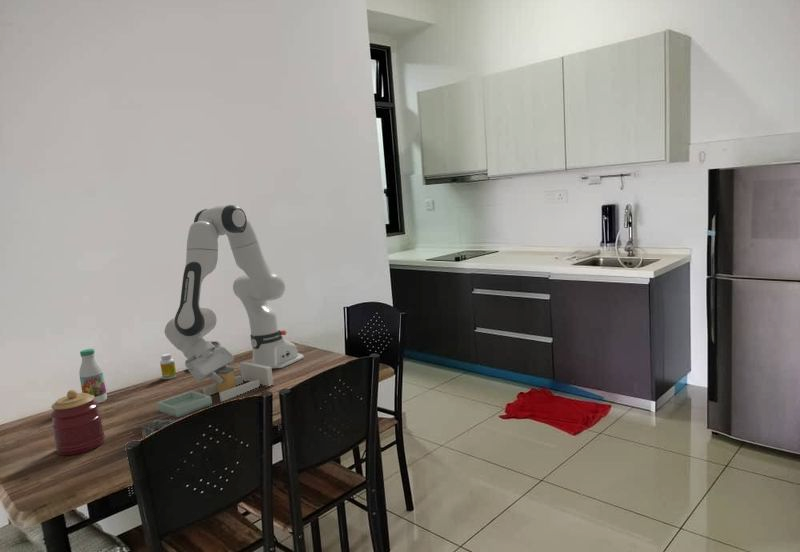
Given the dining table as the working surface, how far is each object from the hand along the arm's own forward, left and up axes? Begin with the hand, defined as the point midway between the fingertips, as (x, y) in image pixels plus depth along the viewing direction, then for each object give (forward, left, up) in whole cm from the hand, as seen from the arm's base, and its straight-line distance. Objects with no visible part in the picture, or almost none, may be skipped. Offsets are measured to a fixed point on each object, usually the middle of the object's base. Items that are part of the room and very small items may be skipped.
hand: (227, 378), depth 206 cm
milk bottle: (+30, -43, -6) cm, 53 cm away
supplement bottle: (0, -45, -6) cm, 45 cm away
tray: (+16, -2, -5) cm, 17 cm away
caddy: (0, -1, -5) cm, 5 cm away
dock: (-4, -1, -5) cm, 7 cm away
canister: (+50, -1, -6) cm, 51 cm away
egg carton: (+32, +13, -6) cm, 35 cm away
